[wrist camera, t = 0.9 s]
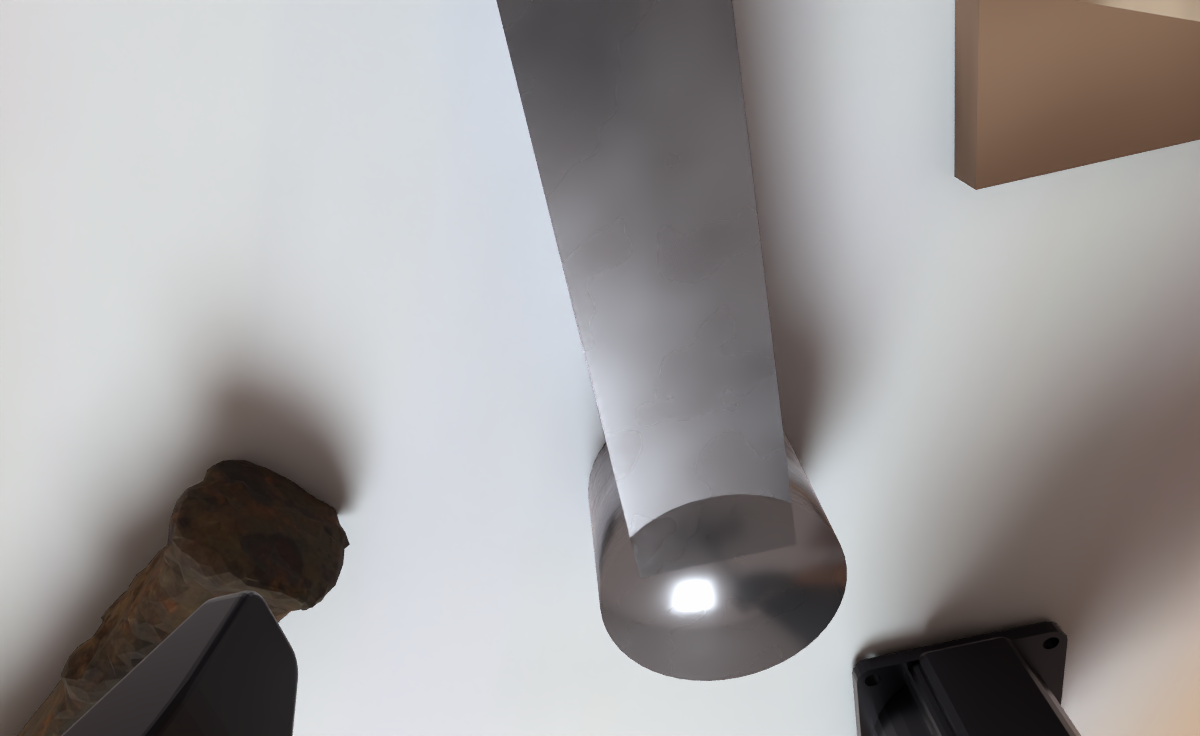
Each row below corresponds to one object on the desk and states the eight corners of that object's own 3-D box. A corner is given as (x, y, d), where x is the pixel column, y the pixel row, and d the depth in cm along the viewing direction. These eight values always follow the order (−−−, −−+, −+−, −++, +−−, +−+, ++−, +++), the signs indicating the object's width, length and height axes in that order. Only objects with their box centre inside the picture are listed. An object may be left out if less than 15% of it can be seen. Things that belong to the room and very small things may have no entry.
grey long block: (805, 542, 24) (853, 653, 20) (610, 583, 24) (625, 700, 20) (667, -682, 12) (726, -924, 8) (293, -583, 12) (199, -779, 9)
